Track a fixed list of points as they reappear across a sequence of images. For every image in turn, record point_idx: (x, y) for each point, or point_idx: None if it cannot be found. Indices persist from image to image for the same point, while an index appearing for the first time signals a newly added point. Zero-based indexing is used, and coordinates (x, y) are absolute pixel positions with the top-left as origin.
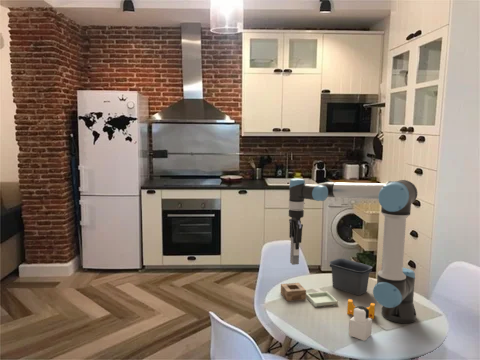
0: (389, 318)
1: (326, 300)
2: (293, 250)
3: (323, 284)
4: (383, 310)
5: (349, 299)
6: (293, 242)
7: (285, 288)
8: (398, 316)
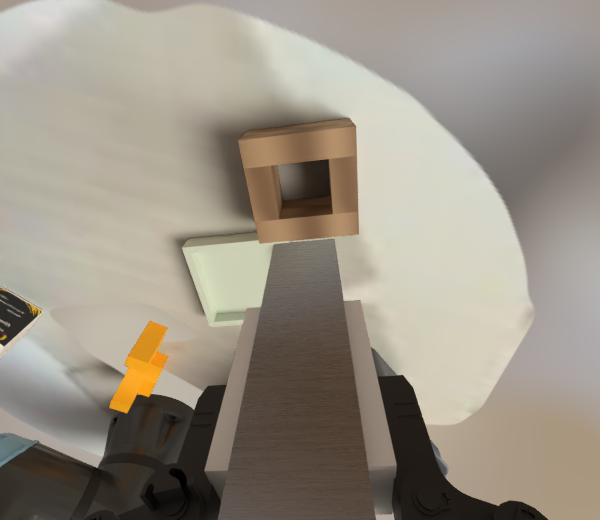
0: None
1: (243, 294)
2: (255, 348)
3: (406, 327)
4: (145, 409)
5: (145, 365)
6: (185, 477)
7: (285, 140)
8: (114, 423)
